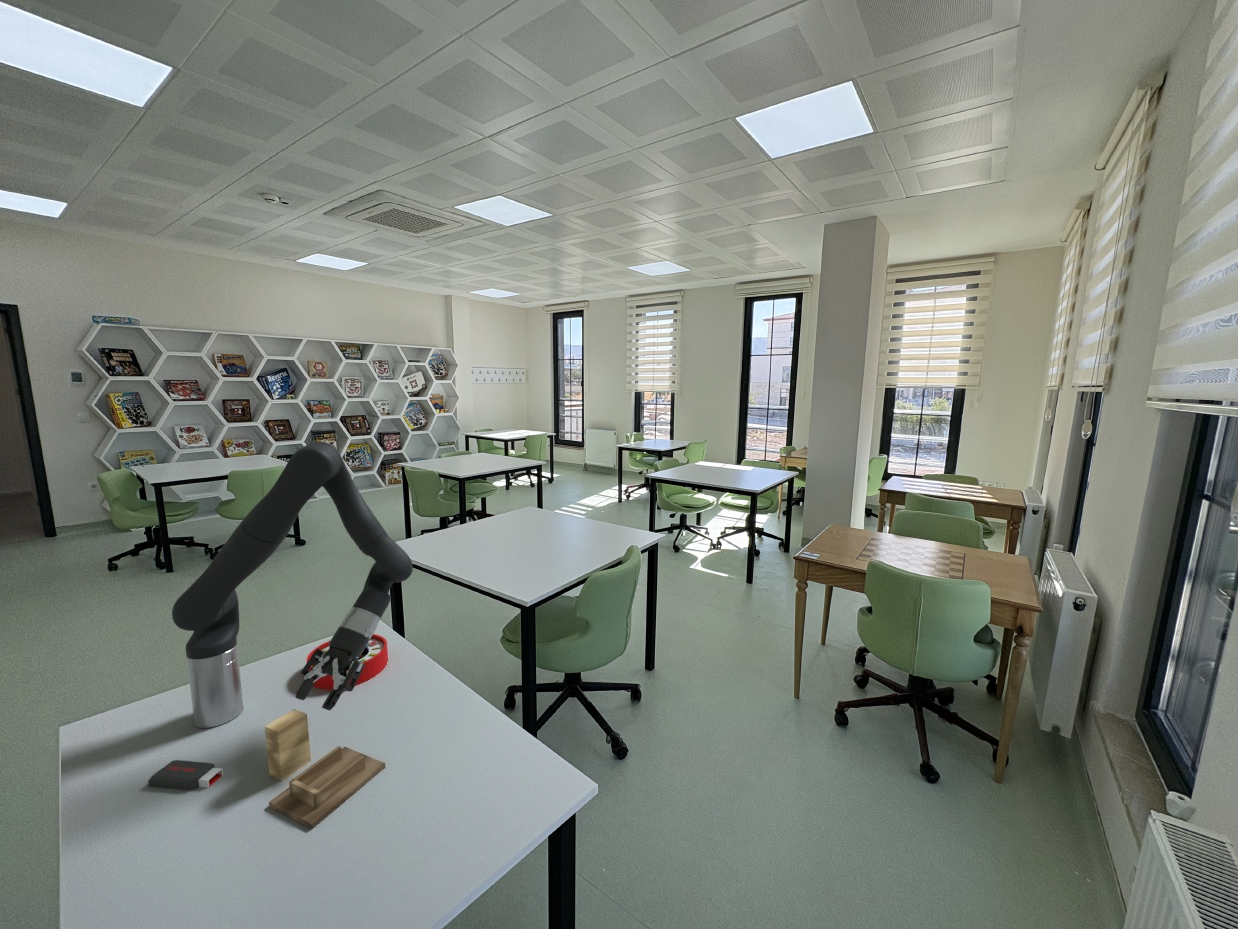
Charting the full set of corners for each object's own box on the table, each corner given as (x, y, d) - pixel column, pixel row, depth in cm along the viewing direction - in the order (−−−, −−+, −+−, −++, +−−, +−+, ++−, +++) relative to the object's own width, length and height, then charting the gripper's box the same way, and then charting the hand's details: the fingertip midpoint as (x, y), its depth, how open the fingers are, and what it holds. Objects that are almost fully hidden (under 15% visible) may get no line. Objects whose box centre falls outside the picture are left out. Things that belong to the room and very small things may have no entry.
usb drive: (174, 768, 101) (173, 756, 101) (227, 773, 100) (226, 761, 100) (148, 788, 96) (146, 776, 96) (204, 793, 95) (202, 781, 95)
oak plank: (269, 775, 99) (264, 726, 98) (298, 755, 105) (294, 709, 103) (282, 781, 98) (277, 731, 96) (310, 760, 103) (307, 713, 102)
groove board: (269, 806, 92) (267, 788, 91) (345, 750, 106) (344, 734, 106) (312, 829, 87) (310, 809, 87) (385, 767, 102) (384, 750, 101)
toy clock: (292, 655, 134) (363, 627, 151) (294, 674, 135) (364, 644, 152) (329, 678, 124) (401, 645, 140) (331, 700, 124) (402, 664, 141)
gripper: (323, 619, 114) (277, 691, 105) (367, 631, 108) (322, 708, 99) (345, 631, 119) (303, 700, 110) (387, 642, 114) (347, 716, 105)
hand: (312, 704), depth 105 cm, fingers open, 8 cm apart
